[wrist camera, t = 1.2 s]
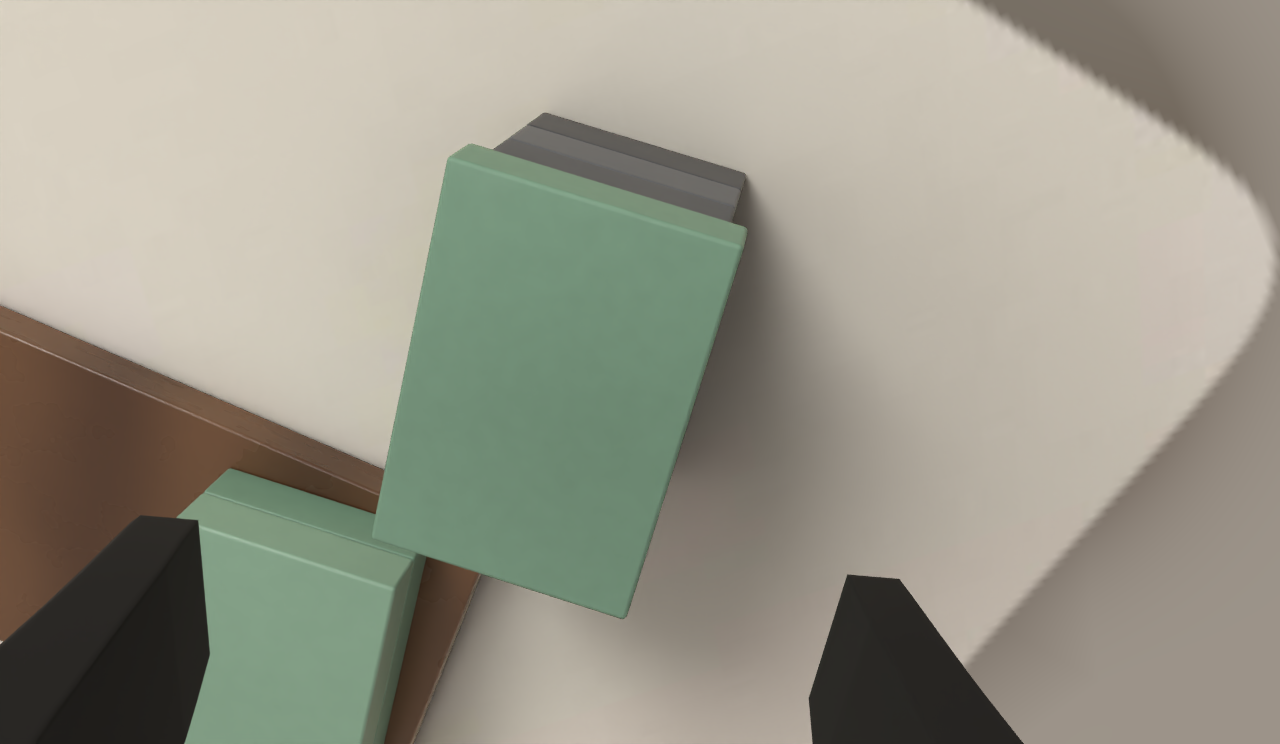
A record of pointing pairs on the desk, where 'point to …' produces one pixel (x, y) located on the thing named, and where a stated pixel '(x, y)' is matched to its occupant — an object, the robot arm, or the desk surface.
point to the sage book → (551, 376)
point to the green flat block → (298, 617)
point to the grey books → (628, 165)
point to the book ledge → (162, 481)
